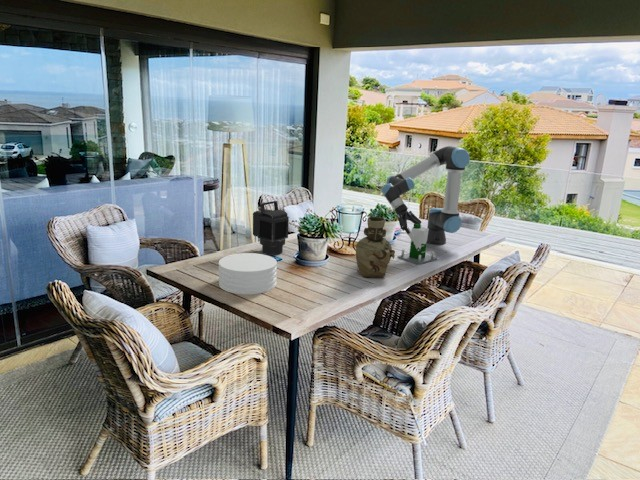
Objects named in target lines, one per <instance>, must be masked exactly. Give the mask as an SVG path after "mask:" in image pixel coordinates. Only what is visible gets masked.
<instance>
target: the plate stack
mask: <svg viewBox="0 0 640 480" xmlns="http://www.w3.org/2000/svg"><path fill="white" fill-rule="evenodd" d="M277 265H278V262H277V259H275V258H274V257H272V256H271V255H267V254H264V253H263V254H262V253H255V252H254V253H253V252H242V253H233V254H229V255H226V256H224V257H222V258H220V259H219V261H218V286H219V288H221V290H223V291H226V292H228V293H232V294H237V295H258V294H262V293H263V294H264V293H266V292H269V291H272V290H273V289H275V287H276V286H277V277H278V276H277V274H278V273H277V270H278V268H277Z"/></svg>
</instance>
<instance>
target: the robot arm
mask: <svg viewBox="0 0 640 480" xmlns="http://www.w3.org/2000/svg"><path fill="white" fill-rule="evenodd" d="M470 159H471V158H470V153H469V152H468V150H466V149H465V148H462V147H456V146H452V145H451V146H450V145H449V146H444V147H442V148H440V149H438V150H435V151H434V152H432V153H430V156H428V157H426V158H424V159H422V160H421V161H419V162H418V163H416V164H414V165H412V166H410V167H409V168H407V169H405V170H403V171H401V172H400V173H398V174H396V175H390V176H388V178H387V179H386V182H385V183H386V184H385V185H384V186H383V187H382V188H381V192H382V195H383V196H384V198H385V199H386V201H387V202H388V203H389V205H390V206H391V208H392V209H393V210H394V212H395V214H396V218H397V221H398V224H399V226H400V230H402V231H405V233H406V234H407V236H408V237H409V239H410V240H411V239H412V238H414V237H415V236H414V235H413V233H412V231H411V228H410V227H408V221H410V222H411V223H413V225H414V224H421V227H423V226H422V220H420V218H418V217H417V216H416V215H415V214H414V212H412V211H411V210H409V211H408V206H407V205H406V204H405V202H404V200H403V199H402V198H401V196H402V195H404V194H406V193H407V192H409V191H411V190H413V189H414V188H415V182H414V179H417V177H420V176H421V175H423V174H425V173H426V172H428V171H430V170H432V169H434V168H435V167H436V168H439V167H441V166H444V165H445V169H446V171H447V176H446V184H445V186H446V187H445V194H444V203H443V207H431V208H430V209H429V210H428V211H429V212H428V219H427V227H426V228H428V229H429V231H428V237H427V243H428V244H433V245H444V244H446V243H447V237H446V233H449V234H454V233H456V232H458V231H459V230H461V228H462V223H463V221H462V218H461V217H460V211H459V210H458V207H459V199H460V190H461V182H462V174H463V172H464V171H465V169H466V167H467V166H468V165H469V164H470V161H471V160H470Z"/></svg>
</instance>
